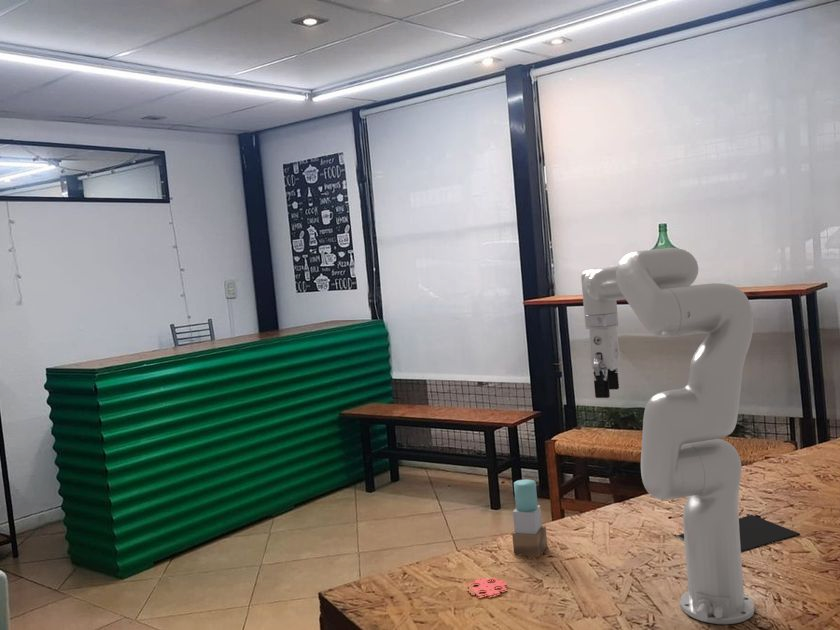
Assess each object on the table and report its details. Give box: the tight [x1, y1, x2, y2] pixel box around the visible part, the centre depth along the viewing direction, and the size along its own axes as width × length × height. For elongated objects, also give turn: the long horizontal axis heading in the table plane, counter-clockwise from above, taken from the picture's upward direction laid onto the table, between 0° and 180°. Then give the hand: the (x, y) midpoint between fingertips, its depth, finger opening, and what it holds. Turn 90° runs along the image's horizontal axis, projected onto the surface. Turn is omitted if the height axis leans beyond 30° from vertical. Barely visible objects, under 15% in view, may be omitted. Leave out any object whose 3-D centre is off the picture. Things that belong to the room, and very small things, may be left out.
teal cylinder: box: [513, 478, 539, 512], centre depth 166 cm, size 5×5×6 cm
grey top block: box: [512, 504, 543, 534], centre depth 167 cm, size 5×5×5 cm
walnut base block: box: [511, 525, 548, 558], centre depth 167 cm, size 6×6×5 cm
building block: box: [467, 577, 508, 598], centre depth 150 cm, size 1×8×8 cm
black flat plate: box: [674, 514, 801, 553], centre depth 164 cm, size 23×1×15 cm
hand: (607, 393), depth 169 cm, fingers open, 9 cm apart
